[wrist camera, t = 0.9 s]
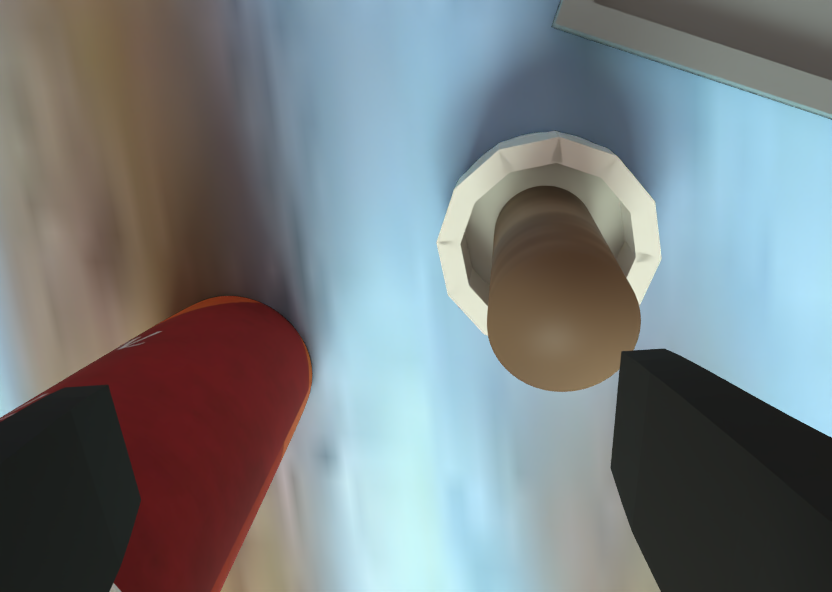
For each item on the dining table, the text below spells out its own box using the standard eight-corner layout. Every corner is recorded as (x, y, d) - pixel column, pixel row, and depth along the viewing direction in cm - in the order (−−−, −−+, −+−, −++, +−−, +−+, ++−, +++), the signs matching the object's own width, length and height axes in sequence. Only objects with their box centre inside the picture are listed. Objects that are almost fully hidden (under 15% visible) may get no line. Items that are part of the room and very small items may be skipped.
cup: (673, 168, 21) (697, 182, 18) (595, 341, 23) (606, 375, 21) (483, 105, 21) (480, 110, 18) (424, 283, 23) (414, 310, 21)
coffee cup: (135, 250, 24) (-369, 496, 10) (350, 283, 24) (122, 594, 10) (142, 442, 27) (-246, 839, 13) (334, 477, 27) (140, 935, 13)
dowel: (609, 204, 21) (666, 280, 13) (571, 293, 22) (604, 411, 14) (514, 172, 21) (516, 230, 13) (480, 262, 22) (467, 364, 14)
